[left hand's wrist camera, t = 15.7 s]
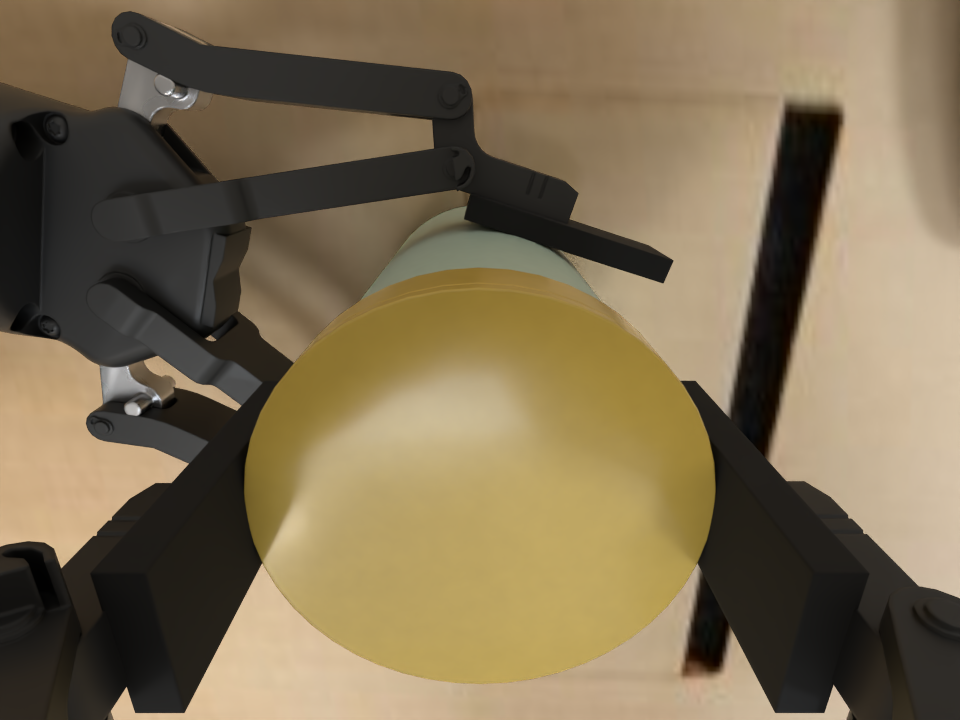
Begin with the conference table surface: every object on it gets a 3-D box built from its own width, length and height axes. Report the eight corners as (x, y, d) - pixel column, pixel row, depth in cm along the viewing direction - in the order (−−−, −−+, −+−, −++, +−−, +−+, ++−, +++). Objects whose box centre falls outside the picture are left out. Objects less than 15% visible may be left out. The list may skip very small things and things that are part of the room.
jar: (350, 318, 26) (191, 532, 12) (460, 162, 23) (430, 192, 9) (496, 418, 28) (513, 707, 13) (612, 284, 25) (783, 465, 11)
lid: (544, 672, 15) (552, 735, 13) (214, 532, 13) (178, 585, 11) (773, 400, 12) (818, 440, 10) (385, 176, 10) (368, 182, 8)
